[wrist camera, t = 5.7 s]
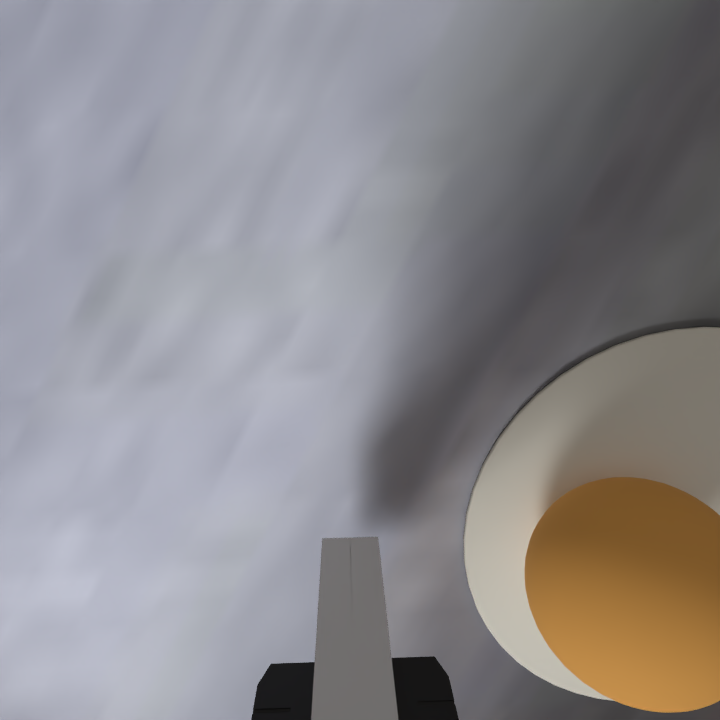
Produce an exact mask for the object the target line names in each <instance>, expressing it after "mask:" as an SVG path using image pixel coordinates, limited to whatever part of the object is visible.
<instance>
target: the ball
mask: <svg viewBox="0 0 720 720" xmlns="http://www.w3.org/2000/svg"><path fill="white" fill-rule="evenodd" d="M525 589H526V594H527V598H528V603H529V607H530V610H531V612H532V615H533V618H534V620H535V623H536V625H537V628H538V629H539V631H540V633H541V634H542V636H543V638H544V640H545V641H546V643H547V645H548V646H549V648H550V649H551V650H552V651H553V653H554V654H555V655H556V656H557V658H558V659H559V660H560V661H561V662H562V664H563V665H564V666H565V667H566V668H567V669H568V670H570V671H571V672H572V673H573V674H574V675H575V676H576V677H577V678H579V679H580V680H581V681H582V682H583V683H585V684H586V685H588V686H589V687H591V688H592V689H594V690H596V691H597V692H599V693H600V694H602V695H604V696H606V697H608V698H610V699H612V700H615V701H617V702H619V703H621V704H624V705H627V706H630V707H634V708H638V709H642V710H647V711H653V712H685V711H692V710H696V709H700V708H703V707H706V706H709V705H711V704H714V703H716V702H718V701H720V515H719V514H718V513H717V512H715V511H714V510H713V509H712V508H710V507H709V506H708V505H706V504H705V503H703V502H702V501H700V500H699V499H697V498H695V497H694V496H692V495H690V494H688V493H686V492H684V491H682V490H680V489H678V488H675V487H673V486H670V485H667V484H665V483H661V482H657V481H652V480H648V479H644V478H634V477H613V478H606V479H600V480H596V481H593V482H589V483H586V484H584V485H581V486H579V487H576V488H575V489H573V490H571V491H569V492H567V493H566V494H564V495H563V496H561V497H560V498H559V499H558V500H557V501H555V502H554V503H553V504H552V505H551V506H550V507H549V508H548V509H547V511H546V512H545V513H544V515H543V516H542V517H541V519H540V520H539V522H538V523H537V525H536V527H535V529H534V531H533V533H532V535H531V538H530V541H529V544H528V549H527V553H526V557H525Z"/></svg>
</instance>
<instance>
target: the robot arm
mask: <svg viewBox="0 0 720 720" xmlns="http://www.w3.org/2000/svg"><path fill="white" fill-rule="evenodd" d="M251 720H459V719H458V715H457V711H456V706H455V704H454V698H453V693H452V689H451V685H450V680H449V676H448V675H447V673H446V672H445V671H444V669H443V668H442V666H441V665H440V664H439V662H438V661H437V659H436V658H435V657H408V658H391V649H390V640H389V631H388V622H387V613H386V604H385V595H384V586H383V577H382V568H381V559H380V550H379V541H378V537H354V538H322V552H321V568H320V584H319V600H318V617H317V633H316V649H315V662H310V663H281V664H271V665H270V666H269V668H268V669H267V671H266V673H265V674H264V676H263V677H262V679H261V680H260V682H259V684H258V686H257V691H256V697H255V702H254V708H253V714H252V719H251Z"/></svg>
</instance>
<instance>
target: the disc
mask: <svg viewBox="0 0 720 720" xmlns="http://www.w3.org/2000/svg"><path fill="white" fill-rule="evenodd" d="M613 477H634V478H644V479H648V480H652V481H657V482H661V483H665V484H667V485H670V486H673V487H675V488H678V489H680V490H682V491H684V492H686V493H688V494H690V495H692V496H694V497H695V498H697V499H699V500H700V501H702V502H703V503H705V504H706V505H708V506H709V507H710V508H712V509H713V510H714V511H715V512H717V513H718V514H719V515H720V327H694V328H682V329H672V330H667V331H662V332H658V333H653V334H648V335H643V336H641V337H638V338H635V339H632V340H629V341H626V342H623V343H620V344H617V345H614V346H612V347H610V348H608V349H606V350H604V351H601V352H599V353H597V354H595V355H593V356H591V357H589V358H587V359H585V360H583V361H582V362H580V363H579V364H577V365H575V366H574V367H572V368H571V369H569V370H568V371H566V372H564V373H563V374H561V375H560V376H558V377H557V378H556V379H555V380H553V381H552V382H551V383H550V384H548V385H547V386H546V387H545V388H543V389H542V390H541V391H540V392H538V393H537V394H536V395H535V396H534V397H533V398H532V399H531V400H530V401H529V402H528V403H527V404H526V405H525V406H524V407H523V408H522V409H521V410H520V411H519V412H518V413H517V414H516V415H515V417H514V418H513V419H512V421H511V422H510V423H509V424H508V426H507V427H506V428H505V430H504V431H503V432H502V434H501V435H500V436H499V438H498V439H497V441H496V442H495V444H494V446H493V447H492V449H491V451H490V453H489V454H488V456H487V458H486V459H485V461H484V463H483V465H482V467H481V470H480V472H479V475H478V477H477V479H476V482H475V484H474V487H473V490H472V493H471V497H470V501H469V505H468V508H467V512H466V520H465V528H464V536H463V539H464V563H465V568H466V574H467V579H468V584H469V587H470V590H471V593H472V596H473V598H474V601H475V604H476V607H477V609H478V611H479V613H480V615H481V617H482V619H483V621H484V623H485V624H486V626H487V628H488V629H489V631H490V632H491V633H492V635H493V636H494V637H495V639H496V640H497V641H498V643H499V644H500V645H501V646H502V647H503V648H504V649H505V650H506V651H507V652H508V653H509V654H510V655H511V656H512V657H513V658H514V659H515V660H516V661H517V662H518V663H520V664H521V665H522V666H524V667H525V668H527V669H528V670H529V671H531V672H532V673H533V674H535V675H537V676H539V677H540V678H542V679H544V680H546V681H548V682H550V683H552V684H554V685H556V686H558V687H561V688H564V689H566V690H569V691H572V692H574V693H577V694H582V695H586V696H590V697H594V698H598V699H605V700H612V699H610V698H608V697H606V696H604V695H602V694H600V693H599V692H597V691H596V690H594V689H592V688H591V687H589V686H588V685H586V684H585V683H583V682H582V681H581V680H580V679H579V678H577V677H576V676H575V675H574V674H573V673H572V672H571V671H570V670H568V669H567V668H566V667H565V666H564V665H563V664H562V662H561V661H560V660H559V659H558V658H557V656H556V655H555V654H554V653H553V651H552V650H551V649H550V648H549V646H548V645H547V643H546V641H545V640H544V638H543V636H542V634H541V633H540V631H539V629H538V628H537V625H536V623H535V620H534V618H533V615H532V612H531V610H530V607H529V603H528V598H527V594H526V589H525V557H526V553H527V549H528V544H529V541H530V538H531V535H532V533H533V531H534V529H535V527H536V525H537V523H538V522H539V520H540V519H541V517H542V516H543V515H544V513H545V512H546V511H547V509H548V508H549V507H550V506H551V505H552V504H553V503H554V502H555V501H557V500H558V499H559V498H560V497H561V496H563V495H564V494H566V493H567V492H569V491H571V490H573V489H575V488H576V487H579V486H581V485H584V484H586V483H589V482H593V481H596V480H600V479H606V478H613ZM613 701H615V700H613Z"/></svg>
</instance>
